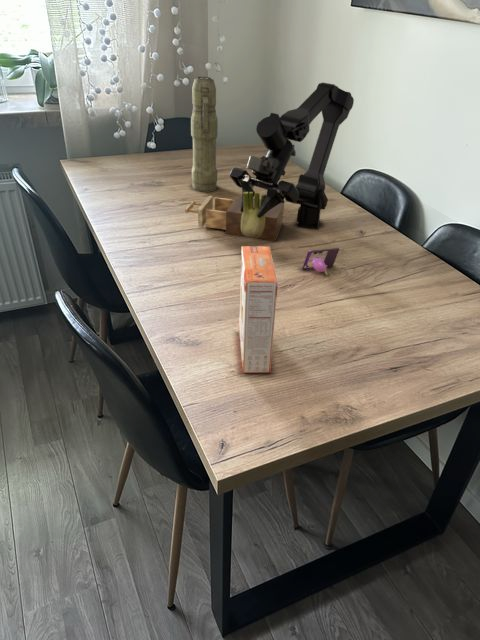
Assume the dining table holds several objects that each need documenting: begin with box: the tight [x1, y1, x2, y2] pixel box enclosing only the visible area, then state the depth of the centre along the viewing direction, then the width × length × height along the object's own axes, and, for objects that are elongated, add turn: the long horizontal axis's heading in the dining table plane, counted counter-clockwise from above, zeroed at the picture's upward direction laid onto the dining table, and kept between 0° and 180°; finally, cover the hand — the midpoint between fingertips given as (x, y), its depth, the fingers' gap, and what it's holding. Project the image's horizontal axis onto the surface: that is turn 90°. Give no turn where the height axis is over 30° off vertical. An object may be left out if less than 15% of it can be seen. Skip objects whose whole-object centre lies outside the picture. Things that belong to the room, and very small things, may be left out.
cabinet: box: [225, 195, 285, 242], centre depth 153 cm, size 15×13×7 cm
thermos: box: [190, 76, 219, 193], centre depth 171 cm, size 9×12×35 cm
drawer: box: [184, 195, 234, 231], centre depth 154 cm, size 19×12×6 cm, turn 79°
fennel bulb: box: [241, 191, 267, 239], centre depth 131 cm, size 6×5×12 cm
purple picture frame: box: [301, 247, 340, 276], centre depth 133 cm, size 7×5×9 cm
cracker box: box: [238, 245, 279, 374], centre depth 98 cm, size 14×6×21 cm, turn 5°
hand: (249, 214), depth 129 cm, fingers closed on fennel bulb, 5 cm apart
